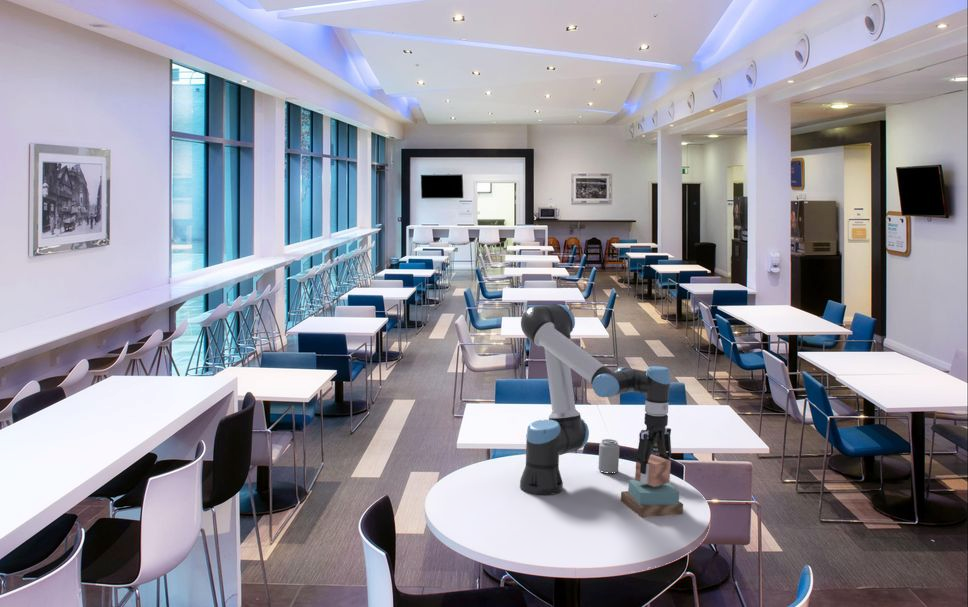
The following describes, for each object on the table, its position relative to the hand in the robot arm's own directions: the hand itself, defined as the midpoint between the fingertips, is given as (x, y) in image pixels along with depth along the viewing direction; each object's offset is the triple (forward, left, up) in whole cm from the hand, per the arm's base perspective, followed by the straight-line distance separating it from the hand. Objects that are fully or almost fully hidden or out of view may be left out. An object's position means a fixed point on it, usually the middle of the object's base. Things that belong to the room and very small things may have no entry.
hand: (652, 480), depth 261 cm
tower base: (0, 0, -10) cm, 10 cm away
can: (+2, +38, -9) cm, 39 cm away
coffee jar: (+14, +27, -9) cm, 32 cm away
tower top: (0, -1, -6) cm, 6 cm away
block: (0, 0, 0) cm, 0 cm away
